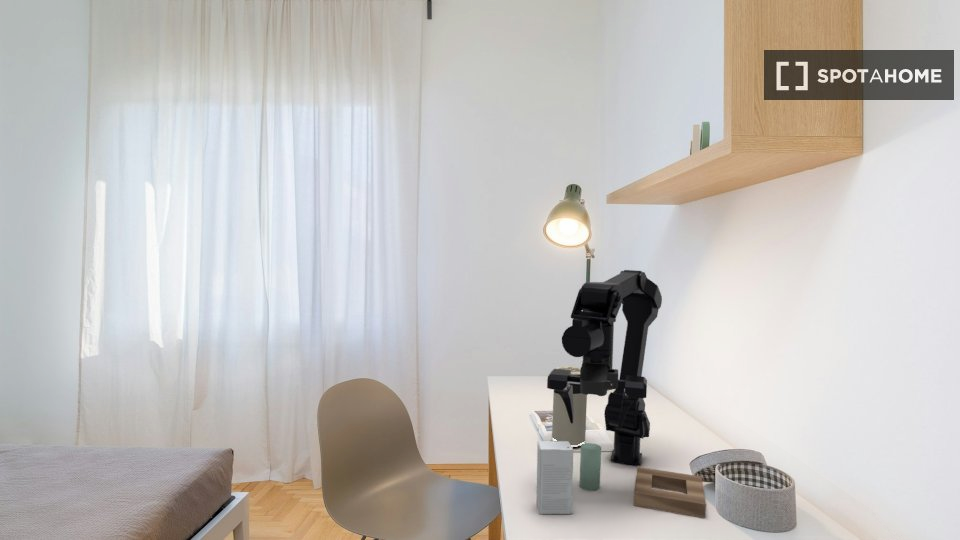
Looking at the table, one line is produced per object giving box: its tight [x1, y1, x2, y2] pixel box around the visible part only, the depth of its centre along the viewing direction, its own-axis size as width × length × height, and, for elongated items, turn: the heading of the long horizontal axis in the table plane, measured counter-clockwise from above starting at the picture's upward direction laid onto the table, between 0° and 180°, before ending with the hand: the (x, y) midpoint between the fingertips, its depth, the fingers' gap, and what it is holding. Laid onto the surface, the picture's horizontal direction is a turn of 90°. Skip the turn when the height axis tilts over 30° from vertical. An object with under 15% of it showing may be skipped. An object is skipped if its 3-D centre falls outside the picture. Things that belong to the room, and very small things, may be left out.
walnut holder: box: [633, 466, 707, 519], centre depth 106 cm, size 12×12×2 cm
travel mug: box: [551, 365, 588, 445], centre depth 133 cm, size 8×8×18 cm
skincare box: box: [535, 440, 574, 515], centre depth 100 cm, size 6×4×12 cm
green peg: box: [578, 442, 602, 491], centre depth 110 cm, size 4×4×8 cm
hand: (595, 425), depth 108 cm, fingers open, 9 cm apart
